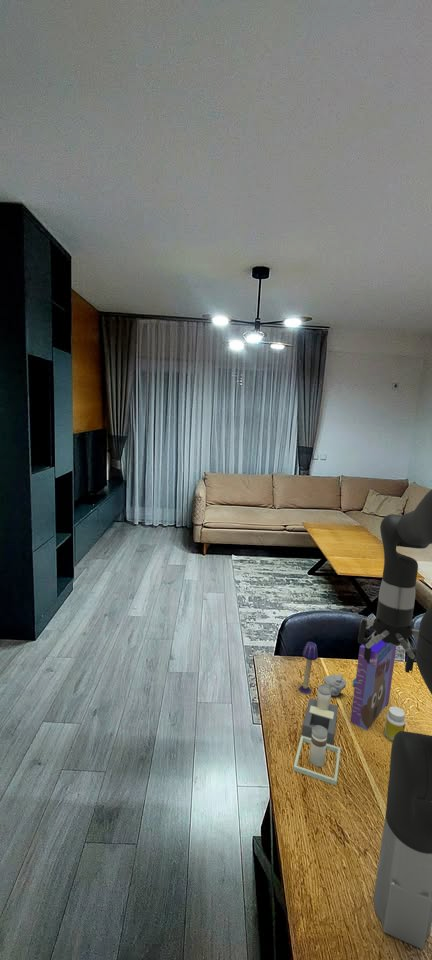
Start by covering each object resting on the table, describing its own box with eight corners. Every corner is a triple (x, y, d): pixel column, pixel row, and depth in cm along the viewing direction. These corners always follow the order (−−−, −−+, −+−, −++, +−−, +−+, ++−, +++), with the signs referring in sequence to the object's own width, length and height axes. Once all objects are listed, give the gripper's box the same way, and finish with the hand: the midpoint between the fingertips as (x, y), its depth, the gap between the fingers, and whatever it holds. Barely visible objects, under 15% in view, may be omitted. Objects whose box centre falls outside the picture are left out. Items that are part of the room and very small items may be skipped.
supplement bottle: (404, 747, 112) (408, 719, 110) (385, 744, 112) (389, 715, 111) (400, 734, 116) (404, 707, 115) (382, 731, 117) (385, 703, 116)
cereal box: (366, 734, 116) (377, 653, 112) (350, 725, 119) (359, 646, 115) (388, 704, 129) (398, 630, 125) (372, 696, 132) (382, 625, 128)
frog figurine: (342, 705, 127) (345, 683, 126) (319, 696, 130) (321, 676, 129) (346, 693, 132) (348, 673, 131) (323, 686, 136) (326, 666, 135)
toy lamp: (313, 690, 133) (319, 641, 131) (313, 699, 128) (318, 649, 126) (298, 687, 134) (303, 638, 132) (297, 696, 130) (302, 646, 127)
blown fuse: (322, 770, 102) (326, 738, 101) (307, 764, 103) (310, 732, 102) (325, 759, 105) (328, 728, 104) (311, 753, 107) (313, 723, 105)
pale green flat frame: (335, 789, 97) (336, 781, 97) (292, 773, 101) (293, 766, 101) (339, 754, 108) (340, 747, 107) (300, 742, 111) (301, 735, 111)
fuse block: (332, 748, 110) (336, 715, 108) (301, 738, 113) (305, 706, 111) (336, 718, 121) (340, 688, 119) (308, 710, 124) (311, 680, 122)
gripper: (362, 600, 96) (354, 666, 98) (432, 614, 91) (422, 683, 93) (363, 588, 103) (356, 650, 105) (428, 601, 98) (419, 665, 100)
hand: (387, 666), depth 99 cm, fingers open, 8 cm apart
